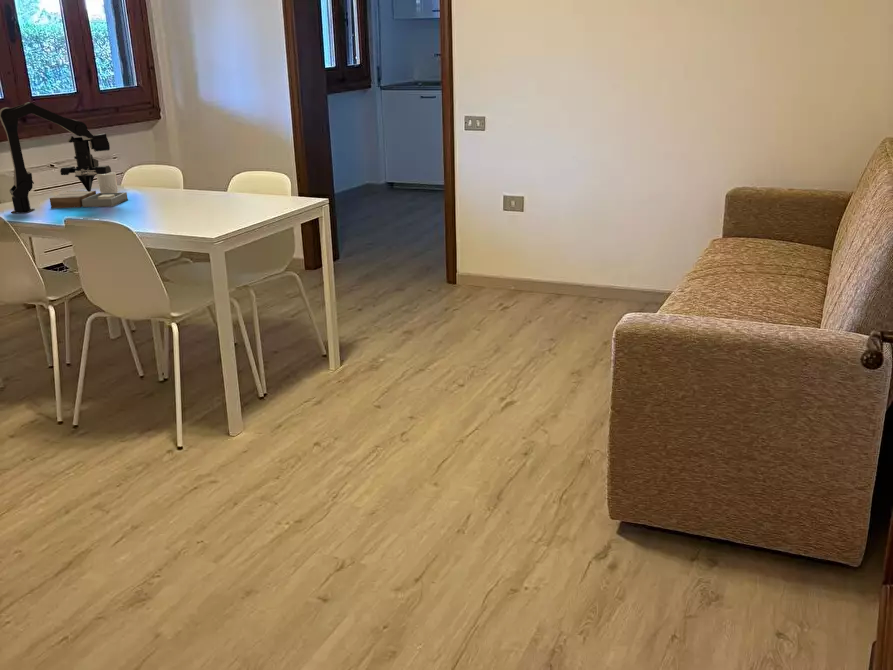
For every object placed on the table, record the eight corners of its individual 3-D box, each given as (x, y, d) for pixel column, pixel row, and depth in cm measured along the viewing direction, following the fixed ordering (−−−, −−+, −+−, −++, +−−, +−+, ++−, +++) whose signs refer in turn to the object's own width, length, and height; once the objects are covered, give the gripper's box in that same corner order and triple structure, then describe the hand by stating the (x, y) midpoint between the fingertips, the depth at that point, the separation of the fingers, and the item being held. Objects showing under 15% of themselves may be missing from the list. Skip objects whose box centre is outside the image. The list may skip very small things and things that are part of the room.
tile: (97, 196, 339) (98, 202, 340) (109, 196, 339) (110, 202, 339) (102, 194, 343) (103, 200, 344) (114, 194, 343) (115, 200, 344)
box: (112, 206, 333) (111, 199, 332) (82, 207, 334) (81, 199, 333) (127, 199, 348) (126, 192, 347) (99, 200, 349) (98, 192, 348)
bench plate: (80, 207, 334) (78, 197, 332) (51, 207, 334) (49, 198, 333) (97, 200, 349) (95, 190, 347) (69, 200, 349) (67, 191, 348)
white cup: (119, 197, 354) (115, 173, 351) (100, 199, 351) (96, 175, 348) (119, 194, 361) (115, 171, 358) (100, 196, 358) (96, 172, 355)
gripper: (113, 149, 342) (119, 187, 347) (69, 150, 342) (75, 188, 347) (102, 153, 331) (108, 192, 336) (56, 154, 332) (63, 193, 337)
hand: (89, 191), depth 340 cm, fingers closed
